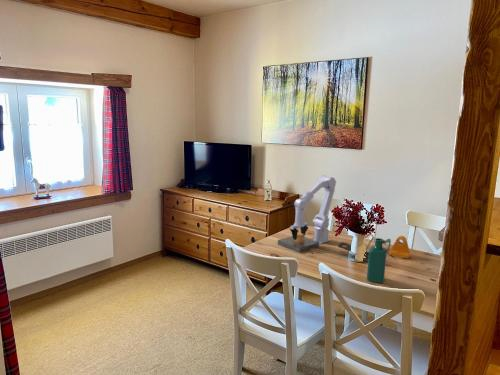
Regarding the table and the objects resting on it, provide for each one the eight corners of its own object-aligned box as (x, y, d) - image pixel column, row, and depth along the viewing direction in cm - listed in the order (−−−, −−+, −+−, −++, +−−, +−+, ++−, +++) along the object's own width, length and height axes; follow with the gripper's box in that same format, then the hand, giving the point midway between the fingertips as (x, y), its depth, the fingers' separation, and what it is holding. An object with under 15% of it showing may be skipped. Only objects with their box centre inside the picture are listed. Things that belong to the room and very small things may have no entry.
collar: (297, 239, 259) (297, 234, 258) (318, 246, 245) (319, 242, 244) (277, 244, 246) (277, 240, 246) (299, 252, 233) (299, 248, 232)
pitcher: (366, 281, 195) (369, 240, 191) (367, 274, 203) (371, 235, 199) (386, 284, 192) (390, 242, 187) (386, 278, 199) (390, 238, 195)
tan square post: (297, 244, 249) (298, 232, 247) (303, 245, 245) (303, 234, 244) (293, 245, 246) (294, 233, 244) (298, 247, 242) (299, 235, 241)
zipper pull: (342, 241, 236) (382, 250, 222) (341, 251, 237) (381, 261, 223) (336, 245, 229) (377, 255, 215) (335, 255, 230) (376, 266, 216)
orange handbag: (388, 255, 232) (390, 237, 230) (391, 252, 238) (393, 234, 236) (407, 259, 227) (409, 240, 225) (409, 256, 233) (411, 237, 231)
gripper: (302, 214, 250) (301, 234, 252) (287, 218, 240) (286, 238, 243) (310, 217, 245) (309, 237, 247) (295, 220, 235) (294, 241, 238)
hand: (298, 238), depth 245 cm, fingers open, 7 cm apart
